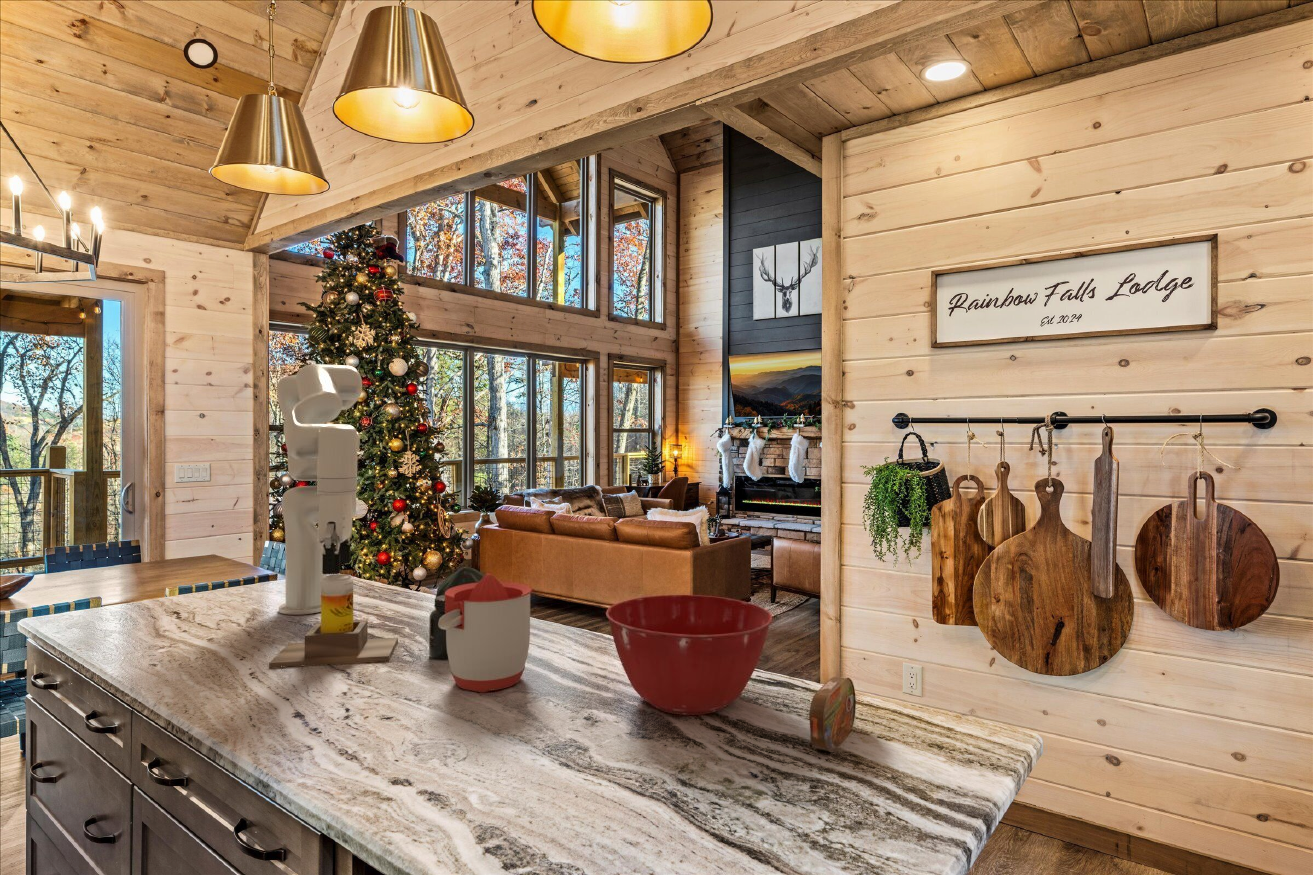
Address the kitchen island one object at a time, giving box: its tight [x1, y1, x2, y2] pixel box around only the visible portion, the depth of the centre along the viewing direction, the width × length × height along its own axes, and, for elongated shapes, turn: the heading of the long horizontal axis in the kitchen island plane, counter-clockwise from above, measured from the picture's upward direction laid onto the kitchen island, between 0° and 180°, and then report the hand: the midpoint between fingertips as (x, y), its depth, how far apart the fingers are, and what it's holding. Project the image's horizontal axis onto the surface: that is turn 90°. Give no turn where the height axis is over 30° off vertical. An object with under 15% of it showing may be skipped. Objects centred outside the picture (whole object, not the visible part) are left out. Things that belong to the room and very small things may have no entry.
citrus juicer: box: [438, 573, 533, 693], centre depth 131 cm, size 16×17×20 cm
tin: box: [808, 676, 857, 753], centre depth 108 cm, size 15×3×8 cm, turn 148°
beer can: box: [320, 573, 354, 633], centre depth 147 cm, size 6×6×15 cm
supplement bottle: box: [428, 595, 449, 661], centre depth 147 cm, size 7×7×12 cm
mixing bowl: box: [605, 594, 773, 716], centre depth 123 cm, size 28×28×16 cm
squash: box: [434, 566, 486, 610], centre depth 170 cm, size 14×15×15 cm
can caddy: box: [268, 619, 399, 668], centre depth 147 cm, size 13×22×6 cm, turn 102°
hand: (336, 568), depth 148 cm, fingers open, 9 cm apart
